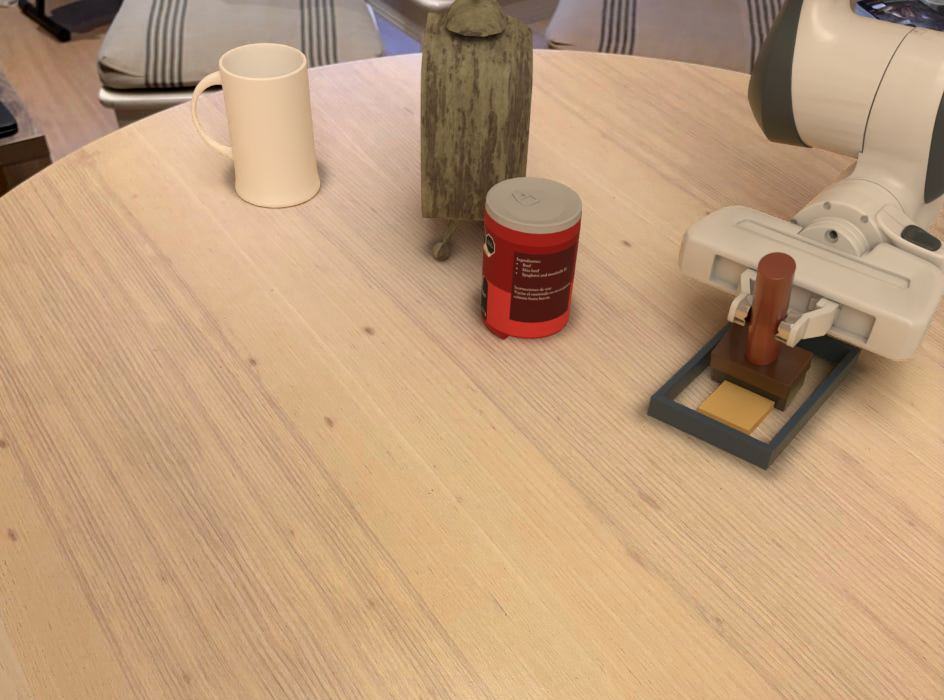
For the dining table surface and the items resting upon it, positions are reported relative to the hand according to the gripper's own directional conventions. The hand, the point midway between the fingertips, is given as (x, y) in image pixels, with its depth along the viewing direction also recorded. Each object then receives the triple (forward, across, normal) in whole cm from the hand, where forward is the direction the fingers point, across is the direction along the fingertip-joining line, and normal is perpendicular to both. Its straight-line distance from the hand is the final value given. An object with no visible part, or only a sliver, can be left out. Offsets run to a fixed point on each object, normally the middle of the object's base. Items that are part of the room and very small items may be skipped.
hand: (761, 325), depth 76 cm
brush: (-3, 0, +7) cm, 7 cm away
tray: (-3, 0, +8) cm, 9 cm away
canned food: (0, -21, +9) cm, 23 cm away
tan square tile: (+1, 0, +8) cm, 8 cm away
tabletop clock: (-9, -33, +9) cm, 36 cm away
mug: (-2, -55, +9) cm, 56 cm away
